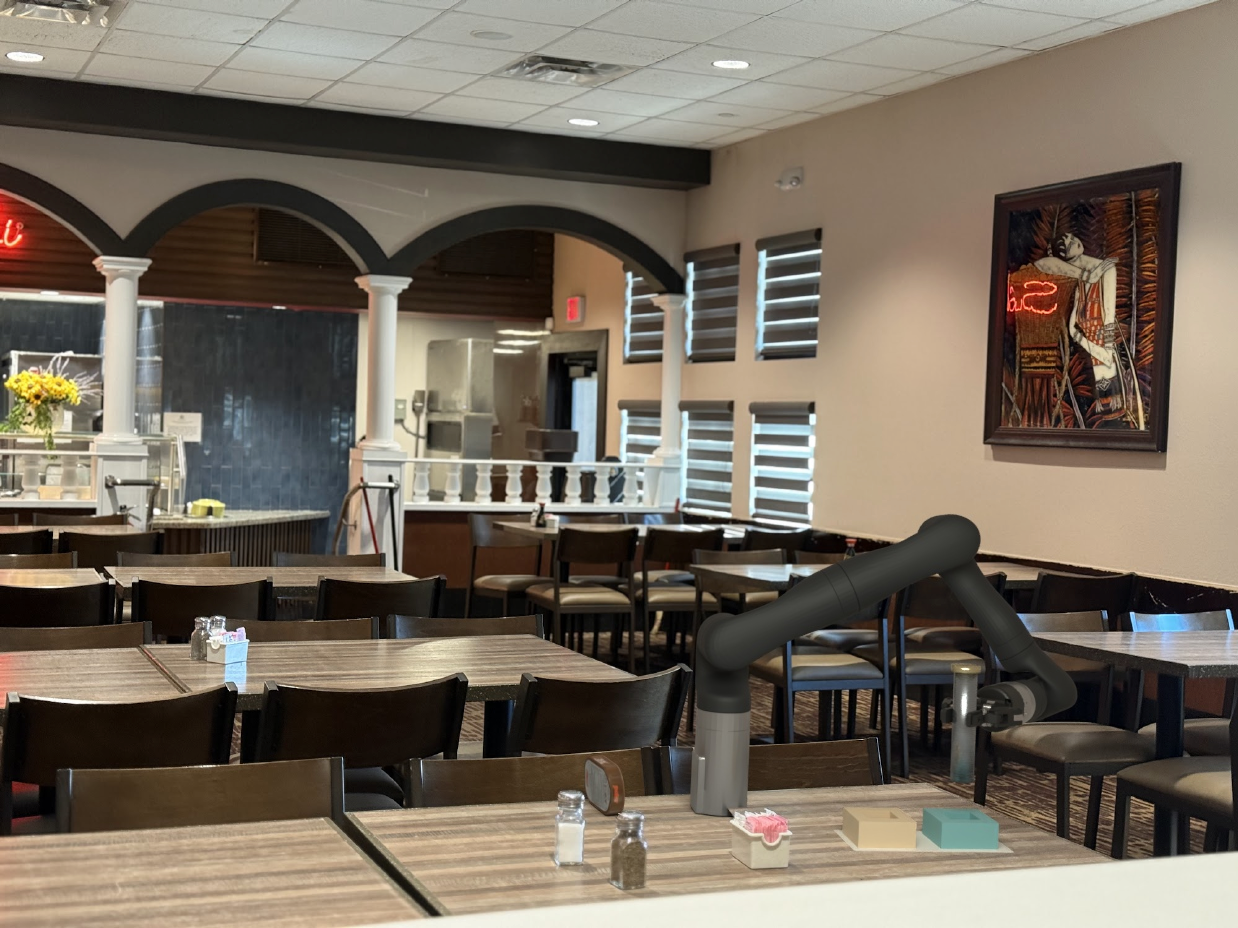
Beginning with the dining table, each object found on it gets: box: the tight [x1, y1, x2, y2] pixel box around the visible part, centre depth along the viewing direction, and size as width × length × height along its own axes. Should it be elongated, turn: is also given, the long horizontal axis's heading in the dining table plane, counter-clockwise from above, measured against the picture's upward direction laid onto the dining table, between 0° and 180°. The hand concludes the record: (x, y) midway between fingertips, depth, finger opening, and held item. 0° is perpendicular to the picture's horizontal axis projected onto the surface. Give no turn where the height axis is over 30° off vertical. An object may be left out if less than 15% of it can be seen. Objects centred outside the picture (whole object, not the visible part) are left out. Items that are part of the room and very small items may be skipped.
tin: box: [583, 754, 626, 816], centre depth 243 cm, size 15×3×8 cm, turn 19°
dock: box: [833, 806, 1015, 854], centre depth 225 cm, size 25×12×6 cm, turn 96°
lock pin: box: [949, 662, 982, 784], centre depth 225 cm, size 5×5×18 cm
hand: (956, 718), depth 223 cm, fingers closed on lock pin, 3 cm apart
